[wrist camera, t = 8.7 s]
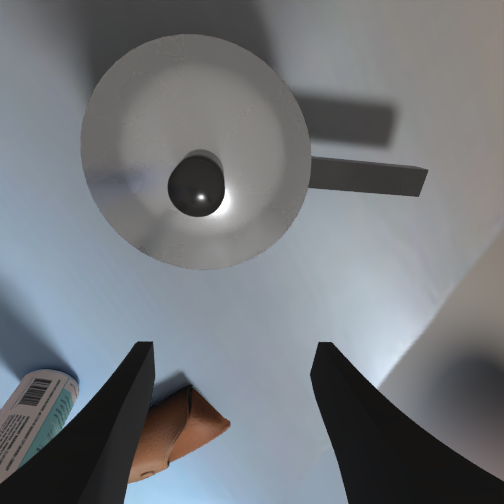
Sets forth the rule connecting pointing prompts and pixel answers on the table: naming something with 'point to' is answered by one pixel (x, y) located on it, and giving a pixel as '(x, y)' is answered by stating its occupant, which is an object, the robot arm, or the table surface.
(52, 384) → the white labeled canister
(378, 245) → the table surface
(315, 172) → the saucepan
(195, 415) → the sunglasses case
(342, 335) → the table surface
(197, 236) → the lid
